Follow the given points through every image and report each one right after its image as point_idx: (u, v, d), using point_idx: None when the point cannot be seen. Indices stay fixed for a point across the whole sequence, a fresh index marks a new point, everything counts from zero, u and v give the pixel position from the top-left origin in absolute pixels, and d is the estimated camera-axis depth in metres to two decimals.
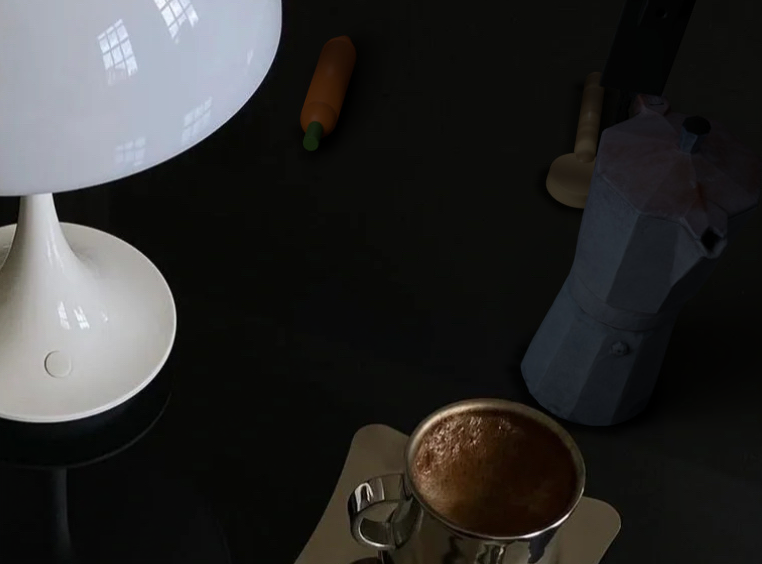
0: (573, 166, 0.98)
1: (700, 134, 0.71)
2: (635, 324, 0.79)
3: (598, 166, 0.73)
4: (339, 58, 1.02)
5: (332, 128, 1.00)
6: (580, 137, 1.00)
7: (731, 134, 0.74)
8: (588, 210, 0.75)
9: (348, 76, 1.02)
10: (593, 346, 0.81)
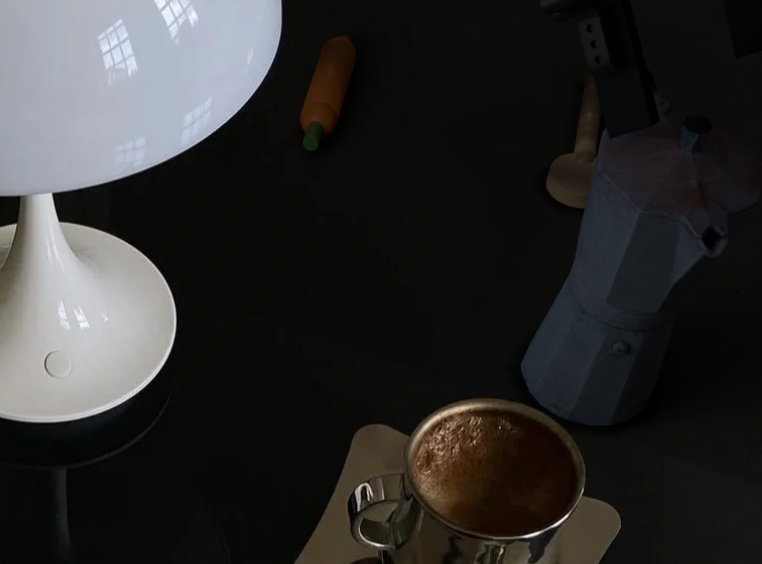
0: (573, 166, 0.98)
1: (701, 133, 0.71)
2: (636, 323, 0.79)
3: (599, 165, 0.73)
4: (339, 58, 1.02)
5: (332, 128, 1.00)
6: (580, 137, 1.00)
7: (732, 133, 0.74)
8: (589, 209, 0.75)
9: (348, 76, 1.02)
10: (593, 345, 0.81)
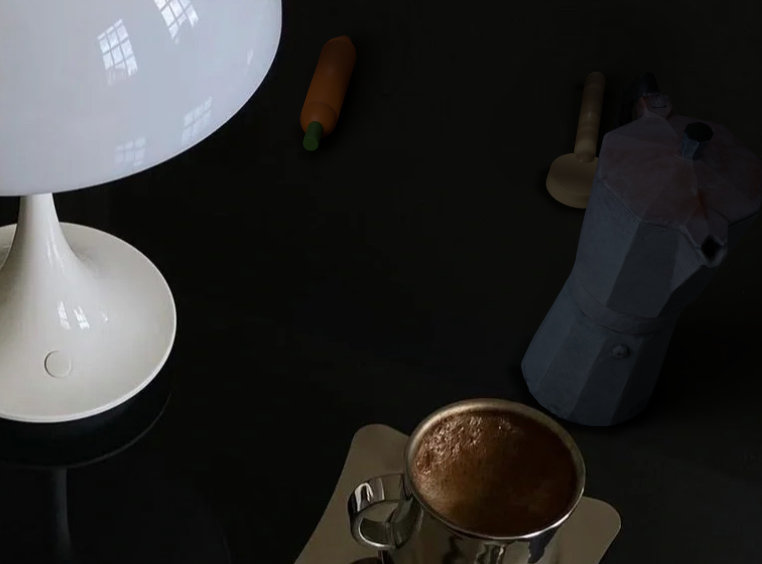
0: (573, 166, 0.98)
1: (702, 141, 0.70)
2: (636, 327, 0.79)
3: (599, 171, 0.73)
4: (339, 58, 1.02)
5: (332, 128, 1.00)
6: (580, 137, 1.00)
7: (734, 138, 0.74)
8: (589, 215, 0.75)
9: (348, 76, 1.02)
10: (593, 348, 0.81)
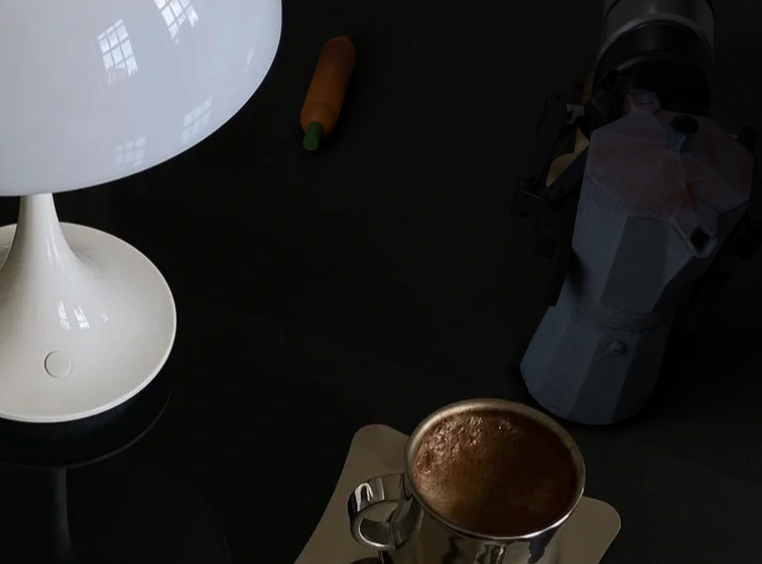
0: None
1: (688, 134, 0.70)
2: (631, 323, 0.79)
3: (587, 168, 0.73)
4: (339, 58, 1.02)
5: (332, 128, 1.00)
6: (580, 137, 1.00)
7: (722, 131, 0.74)
8: (579, 211, 0.75)
9: (348, 76, 1.02)
10: (589, 346, 0.81)
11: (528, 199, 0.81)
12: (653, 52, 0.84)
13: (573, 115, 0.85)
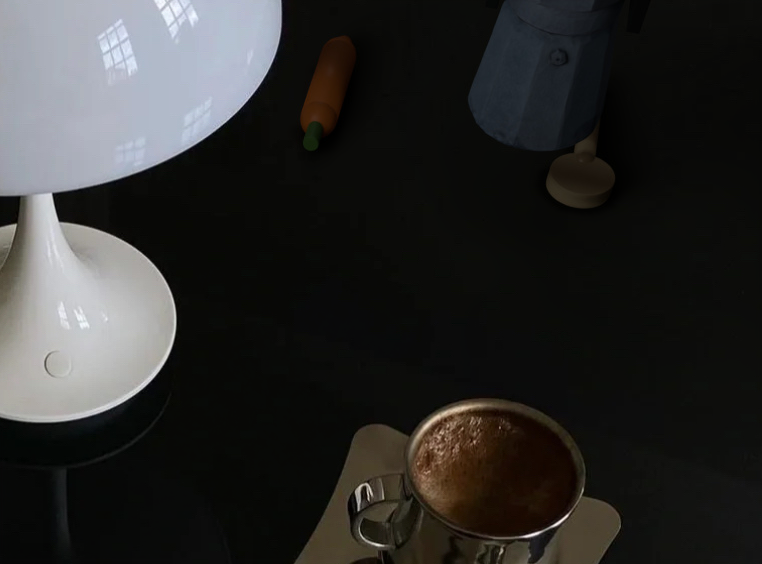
0: (573, 166, 0.98)
1: None
2: (572, 26, 0.80)
3: None
4: (339, 58, 1.02)
5: (332, 128, 1.00)
6: None
7: None
8: None
9: (348, 76, 1.02)
10: (532, 57, 0.82)
11: None
12: None
13: None
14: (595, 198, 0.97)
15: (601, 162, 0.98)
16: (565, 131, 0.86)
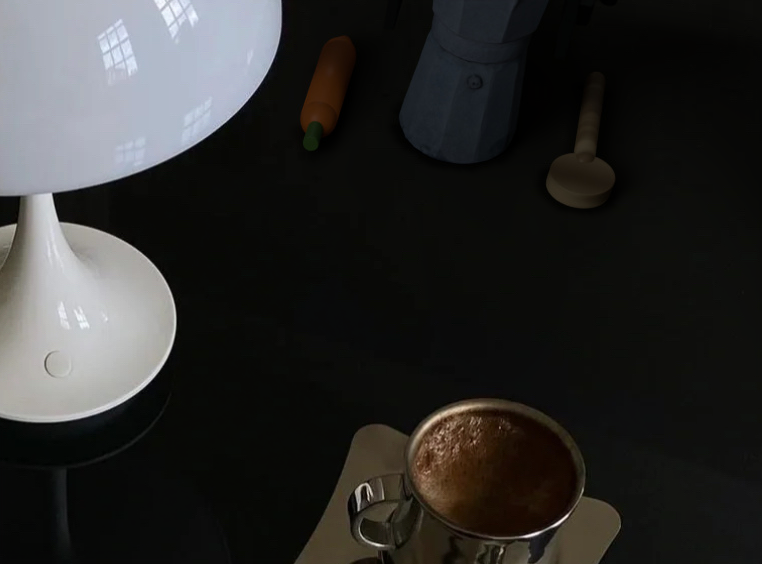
0: (573, 166, 0.98)
1: None
2: (485, 55, 0.93)
3: None
4: (339, 58, 1.02)
5: (332, 128, 1.00)
6: (580, 137, 1.00)
7: None
8: None
9: (348, 76, 1.02)
10: (452, 81, 0.95)
11: None
12: None
13: None
14: (595, 198, 0.97)
15: (601, 162, 0.98)
16: (481, 146, 0.99)
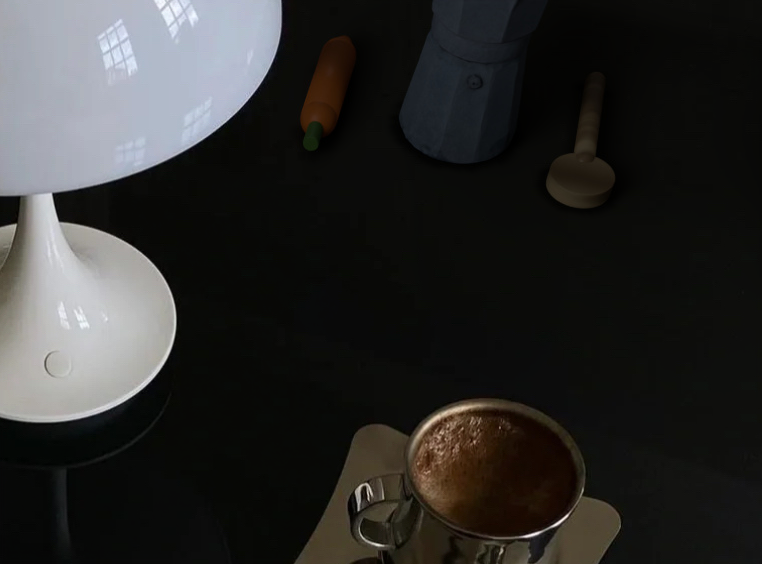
0: (573, 166, 0.98)
1: None
2: (485, 55, 0.93)
3: None
4: (339, 58, 1.02)
5: (332, 128, 1.00)
6: (580, 137, 1.00)
7: None
8: None
9: (348, 76, 1.02)
10: (452, 81, 0.95)
11: None
12: None
13: None
14: (595, 198, 0.97)
15: (601, 162, 0.98)
16: (482, 146, 0.99)
